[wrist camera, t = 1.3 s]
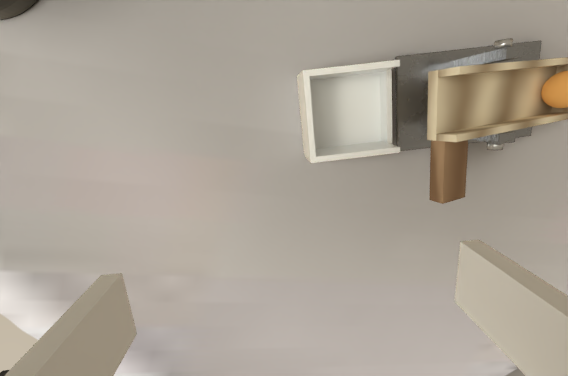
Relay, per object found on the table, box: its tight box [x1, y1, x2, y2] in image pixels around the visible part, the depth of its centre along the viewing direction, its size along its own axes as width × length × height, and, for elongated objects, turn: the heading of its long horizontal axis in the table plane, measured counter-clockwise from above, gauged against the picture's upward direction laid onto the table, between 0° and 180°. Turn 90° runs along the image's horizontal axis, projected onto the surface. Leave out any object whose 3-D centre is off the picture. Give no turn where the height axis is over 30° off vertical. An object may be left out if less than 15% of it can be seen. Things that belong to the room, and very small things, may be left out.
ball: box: [541, 71, 568, 108], centre depth 30 cm, size 4×4×4 cm
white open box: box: [297, 60, 400, 163], centre depth 33 cm, size 9×10×6 cm
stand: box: [395, 39, 541, 151], centre depth 32 cm, size 17×11×8 cm, turn 96°
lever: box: [427, 57, 568, 204], centre depth 30 cm, size 18×12×3 cm, turn 96°
